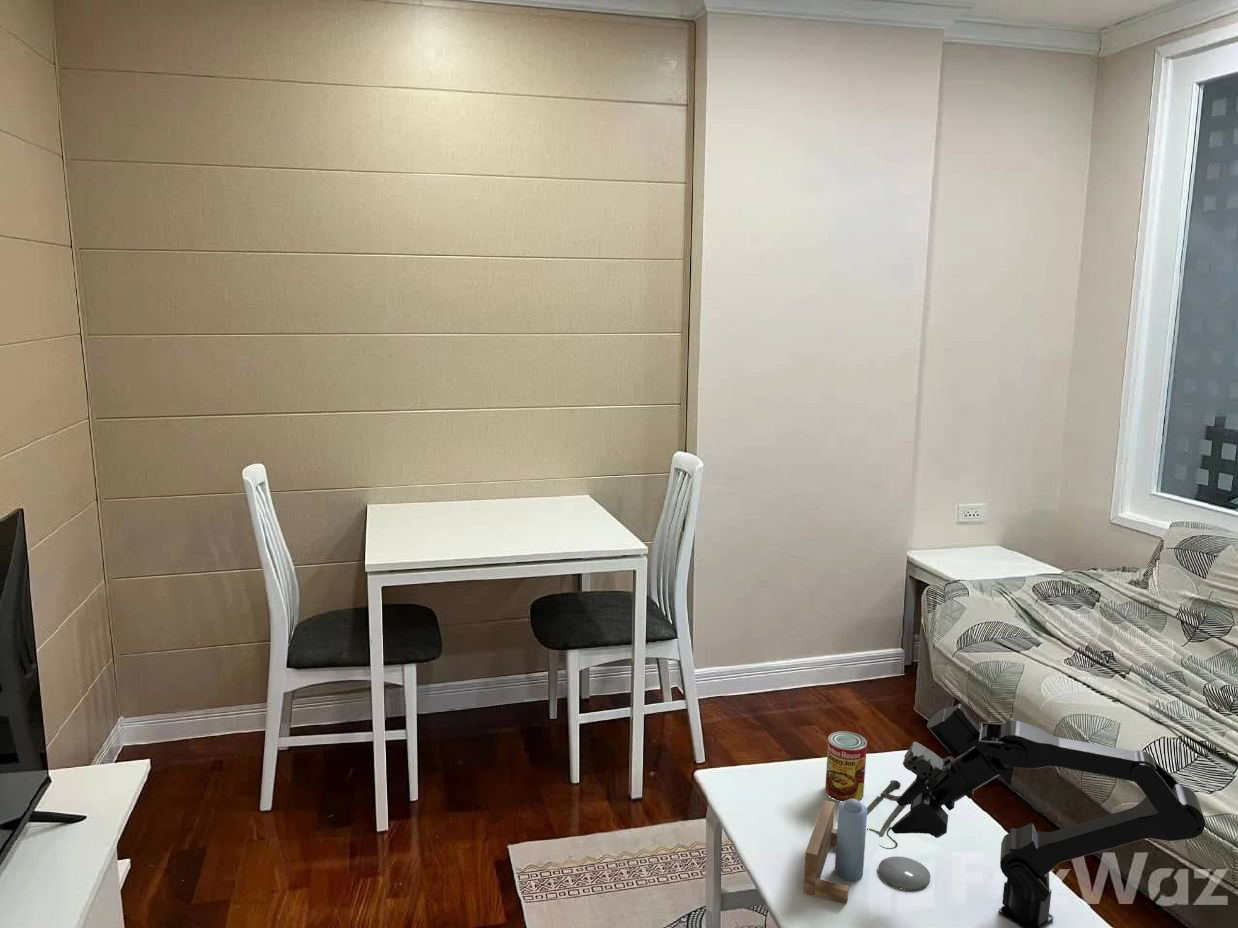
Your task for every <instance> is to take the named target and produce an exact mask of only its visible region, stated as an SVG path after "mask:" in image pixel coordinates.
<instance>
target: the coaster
mask: <svg viewBox="0 0 1238 928" xmlns="http://www.w3.org/2000/svg"><path fill="white" fill-rule="evenodd" d="M877 870H879V871H878V874H880V875H879V876H880V877H882V878H883V879H882V878H881V879H882V880H883V881H884V880H885V881H886V882H885V881H884V882H885V883H887V884H888V885H890V886H892V885H893V886H892V887H894V886H895V887H894V888H896V887H897V889H899V888H902V889H901V890H903V889H905V891H919V890H920V891H921V890H922V889H925V888H927V887H928V886H929V884H930V881H931V873H930V871H929V870H928V868H927V867H926V866H925V865H924V864H922V863H921V862H919V861H917V860H915V859H912V858H909V857H906V856H889V857H886V858H883V859H882V860H881V861H880V862H879V864H878V868H877ZM927 885H928V886H927ZM926 886H927V887H926Z"/></svg>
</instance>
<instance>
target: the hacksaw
mask: <svg viewBox="0 0 1238 928" xmlns="http://www.w3.org/2000/svg"><path fill="white" fill-rule="evenodd" d="M900 788H901V782H899V781H898V780H895V779H894V780H893V779H892V780H890V781H889V784H888V786H887V787H886V788H885V789H884V790H883V791H882V792H881V793H880V796H879V795H878V796H876V797H875V799H874V800H873V801H871V803H870V804H869V805H868V806H866V808H867V816H868V815H870V813H871V812H873V810H874V809H875V808H876V807H877V806H878V805H879V804H880V803H881V802H882V801H883V799H884V798H888V799H889V800H890V801H891V800H896V801H897V800H898V799H899V797H900V796H901V795H894V794H891V793H892V792H893V791H894V790H896V789H900ZM906 806H907V805H904V806H900V805H899V804H898V803H897V805H896V807H895V808H894V809H893V811H892V812H891V814H889V816H888V817H887V819H886V820H885V821H884V823H883V825H882V827H881V829H880V830H876V829H874V828H869V827H868V828H867V827H866V828H867V830H866V831H869V830H870V831H871V832H873V833H875V834H876V835H878V837H879V838H882V837H884V835H885V832H886V836H887V837H888V838H889V839H890V840H891V841H892V842H893V843H894V844H895V845H894V846H893V847H885V846H882V845H881V844H879V846H880V847H881V848H882V849H886V850H893V849H896V848H898V845H899V844H898V841H896V840H895V839H893V838H892V837H891V836H890V835H889V832H890V830H891V827H892V826H890V825H891V824H892V822H893V821H894V820H895V818H897V817H898V815H899V814H900V813H901V812H902V810H904V808H905V807H906ZM868 829H869V830H868ZM870 831H869V832H870Z"/></svg>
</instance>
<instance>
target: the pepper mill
mask: <svg viewBox="0 0 1238 928" xmlns="http://www.w3.org/2000/svg"><path fill="white" fill-rule="evenodd" d="M867 817H868V815H867V806H866V805H865V804H863V803H861V802H860V801H858V800H856V799H848V800H847V801H843V802H840V803H838V813H837V828H836V829H837V840H836V845H835V859H834V861H835V862H834V873H835V875H836V876H837V877H838V878H839V879H841V880H842V881H846V882H851V881H853V882H858V881H860V880H862V878H863V877H862V876H864V875H863V874H864V863H865V862H864V861H865V850H866V849H865V848H866V835H867V834H866V833H867V830H866V828H867V819H868V818H867ZM857 880H858V881H857Z"/></svg>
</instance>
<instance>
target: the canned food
mask: <svg viewBox="0 0 1238 928" xmlns="http://www.w3.org/2000/svg"><path fill="white" fill-rule="evenodd" d="M827 738H828V739H827V751H826V752H827V756H826V768H825V769H826V772H825V787H824V789H825V790H824V791H826V792H825V794H826V795H827V797H829V796H830V797H831V798H830V797H829V798H830V799H832V798H834V799H835V800H834V799H833V800H834V801H836V800H839V801H842V802H843V801H847V800H848V799H856V800H858V801H859V800H860V801H861V800H862V799H864V798H863V797H864V790H865V777H866V766H867V761H866V760H867V747H868V741H867V740H866V738H865V737H863V736H862V735H861V734H859V733H855V732H852V731H851V732H850V731H846V730H845V731H835V732H832V733H830V734H829V736H828V737H827ZM839 801H838V802H839ZM860 801H859V802H860Z"/></svg>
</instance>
